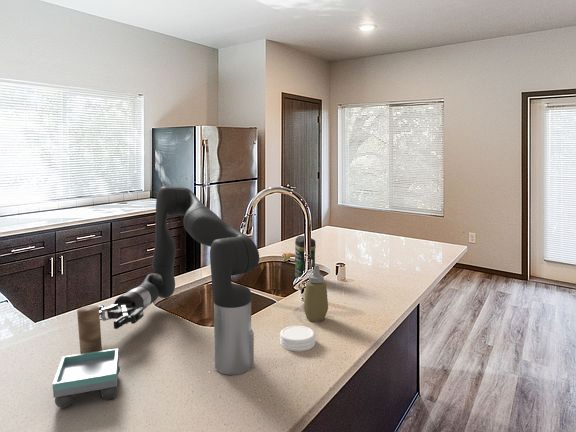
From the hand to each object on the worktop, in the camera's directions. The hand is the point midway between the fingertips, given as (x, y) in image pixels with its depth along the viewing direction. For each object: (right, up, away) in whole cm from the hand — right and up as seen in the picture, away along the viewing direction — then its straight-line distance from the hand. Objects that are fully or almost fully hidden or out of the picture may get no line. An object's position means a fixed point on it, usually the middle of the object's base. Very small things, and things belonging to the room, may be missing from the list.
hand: (100, 324), depth 108 cm
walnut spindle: (-1, -9, -3) cm, 9 cm away
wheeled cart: (+5, -11, -17) cm, 20 cm away
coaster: (+53, -8, +7) cm, 54 cm away
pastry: (+51, +6, +97) cm, 109 cm away
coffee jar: (+57, +2, +66) cm, 88 cm away
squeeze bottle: (+59, -5, +25) cm, 64 cm away
